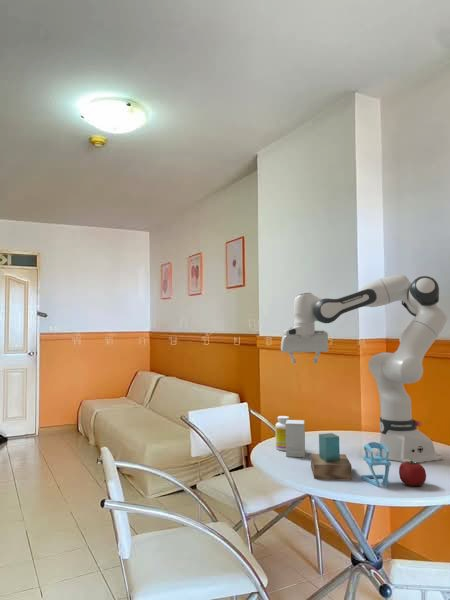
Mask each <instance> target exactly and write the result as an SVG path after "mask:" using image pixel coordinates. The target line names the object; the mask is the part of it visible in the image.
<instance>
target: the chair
mask: <svg viewBox="0 0 450 600" xmlns="http://www.w3.org/2000/svg"><path fill="white" fill-rule="evenodd" d="M363 449H364V452H365V455H364V456H362V460H364V461H365V463H366V464H367V466H368V467H369V470H370V472H371V474H364V475H360V479H361V480H363V481H365V482H367V483H370V484H372V485H373V486H375V487H377V488H380V482H379V479H382V484H383V486H384V487H387V488H388V480H389V475H390V474H389V472H390V467H391V465H392V462H391V461H389V459H388V455H389V451H388V448H387V446H385V445H383V444H380V442H376V441H372V442H368V443H367V444H365V445H363ZM373 449H378V450H379V449H380V452H379V455H376V456H374V451H373ZM382 449H385V451H386V453H387V454H386V457H385V458H384V457H383V456H382ZM369 454H370V456H369ZM373 466H376V467H377V466H385V468H384V469H385V471H384V474H376V473H375V471H374V467H373Z"/></svg>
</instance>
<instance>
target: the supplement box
mask: <svg viewBox="0 0 450 600" xmlns="http://www.w3.org/2000/svg"><path fill="white" fill-rule="evenodd" d="M305 425H306V424H305V419H289V420H286V451H285V456H286V457H289V458H305V457H306V429H305V427H306V426H305Z"/></svg>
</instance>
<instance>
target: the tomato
mask: <svg viewBox="0 0 450 600" xmlns="http://www.w3.org/2000/svg"><path fill="white" fill-rule="evenodd" d="M398 475H399V479H400V480H401V482H402V483H403V484H404V485H405V486H410V487H412V486H413V487H421V485H424V484H425V482H427V473H426V469H425V468H424V466H423V465H422V464H421V463H420V462H417V463H415V462H413V461H410V462H408V461H406V462H401V464H400V465H399V467H398Z"/></svg>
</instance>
